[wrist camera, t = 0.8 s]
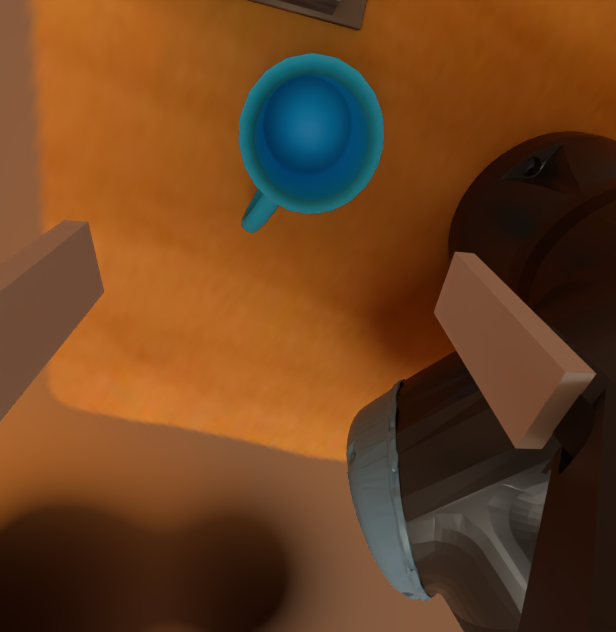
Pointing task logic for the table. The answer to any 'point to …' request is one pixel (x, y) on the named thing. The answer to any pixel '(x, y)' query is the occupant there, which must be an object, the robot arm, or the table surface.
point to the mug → (308, 137)
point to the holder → (324, 10)
